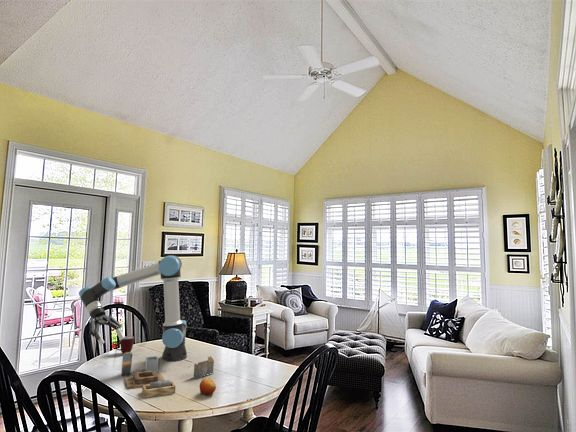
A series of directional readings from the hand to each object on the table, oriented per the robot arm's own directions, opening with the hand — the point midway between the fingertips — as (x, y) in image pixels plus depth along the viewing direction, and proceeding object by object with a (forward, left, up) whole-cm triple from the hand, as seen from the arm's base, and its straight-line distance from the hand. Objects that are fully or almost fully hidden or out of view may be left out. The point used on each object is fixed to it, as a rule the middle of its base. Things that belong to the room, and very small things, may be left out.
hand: (112, 341), depth 197 cm
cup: (-20, +7, -16) cm, 27 cm away
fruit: (-40, +49, -16) cm, 66 cm away
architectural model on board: (-45, +24, -17) cm, 54 cm away
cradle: (-15, +22, -16) cm, 32 cm away
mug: (-9, -32, -16) cm, 37 cm away
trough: (-19, +39, -16) cm, 47 cm away
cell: (-7, +8, -16) cm, 20 cm away
